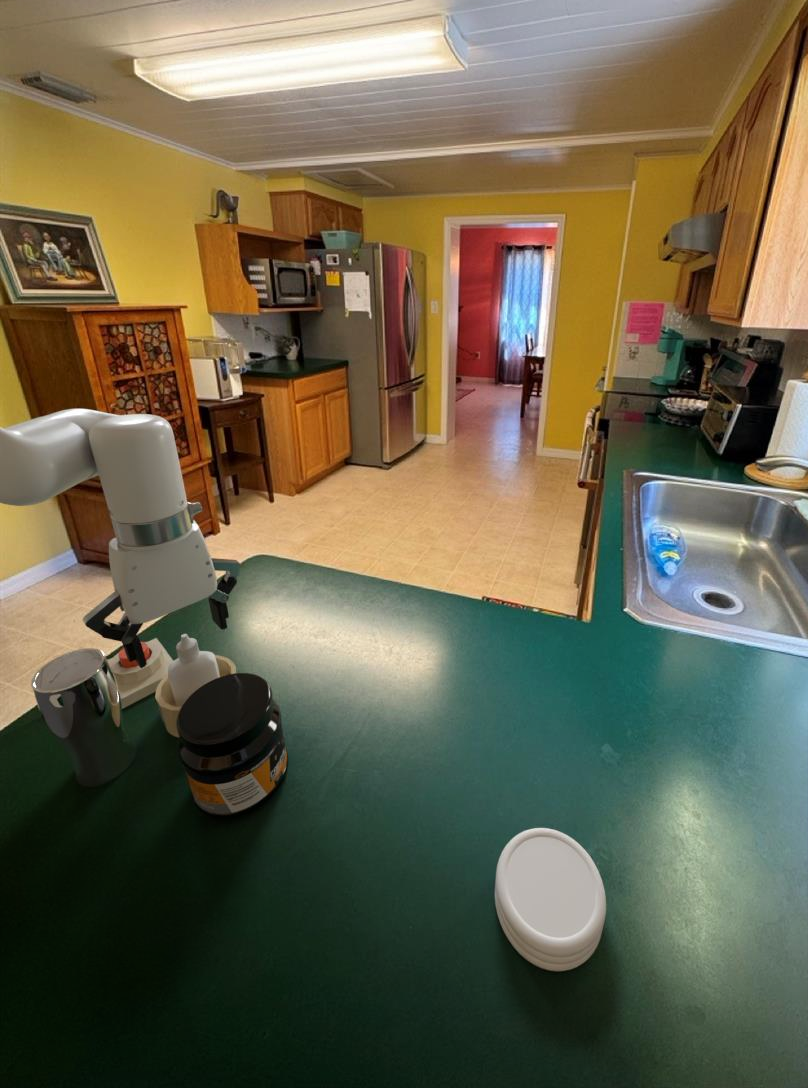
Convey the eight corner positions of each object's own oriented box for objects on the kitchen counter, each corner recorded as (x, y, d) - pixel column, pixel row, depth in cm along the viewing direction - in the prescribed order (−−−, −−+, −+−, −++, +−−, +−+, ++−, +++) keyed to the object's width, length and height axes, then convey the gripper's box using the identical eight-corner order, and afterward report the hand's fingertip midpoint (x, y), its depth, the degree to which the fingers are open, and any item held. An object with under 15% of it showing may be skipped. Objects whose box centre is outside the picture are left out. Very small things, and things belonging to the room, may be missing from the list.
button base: (100, 672, 71) (94, 654, 70) (159, 646, 76) (153, 628, 75) (120, 710, 65) (113, 691, 63) (182, 678, 70) (177, 659, 69)
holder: (153, 709, 65) (145, 681, 63) (223, 671, 71) (217, 645, 69) (180, 752, 59) (171, 723, 57) (253, 706, 65) (248, 679, 63)
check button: (118, 659, 69) (115, 650, 69) (145, 647, 72) (142, 638, 71) (125, 672, 67) (122, 662, 66) (153, 658, 69) (150, 649, 69)
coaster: (623, 957, 41) (629, 934, 40) (514, 989, 39) (517, 967, 38) (572, 837, 50) (576, 815, 49) (482, 858, 48) (483, 836, 47)
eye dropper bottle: (191, 691, 67) (172, 623, 62) (230, 693, 67) (214, 625, 62) (173, 717, 63) (152, 646, 58) (214, 719, 63) (196, 648, 58)
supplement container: (251, 839, 50) (231, 760, 45) (171, 809, 52) (145, 731, 48) (307, 752, 59) (295, 679, 54) (237, 731, 62) (220, 660, 57)
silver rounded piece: (88, 803, 53) (44, 704, 47) (60, 772, 56) (17, 676, 51) (151, 755, 58) (119, 661, 53) (123, 729, 62) (90, 638, 56)
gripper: (216, 493, 62) (235, 600, 69) (52, 537, 50) (94, 661, 57) (242, 511, 58) (260, 624, 64) (68, 564, 46) (112, 696, 52)
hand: (182, 641), depth 61 cm, fingers open, 9 cm apart
